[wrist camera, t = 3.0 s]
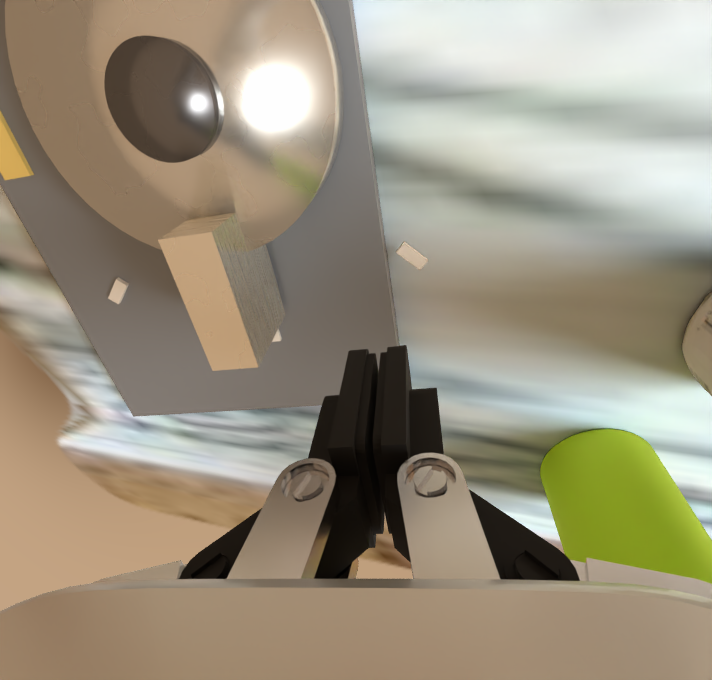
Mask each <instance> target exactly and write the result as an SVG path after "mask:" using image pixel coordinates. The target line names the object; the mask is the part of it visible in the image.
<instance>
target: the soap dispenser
mask: <svg viewBox="0 0 712 680" xmlns="http://www.w3.org/2000/svg"><path fill="white" fill-rule="evenodd" d="M540 476H541V480H542V483H543V487H544V490H545V493H546V496H547V499H548V502H549V505H550V508H551V512H552V515H553V518H554V521H555V524H556V527H557V530H558V533H559V537H560V540H561V543H562V546H563V549H564V552H565V555H566V556H567V557H568V558H569V560H574V561H579V562H584V563H586V558H591V559H596V560H602V561H607V562H612V563H617V564H622V565H627V566H632V567H638V568H643V569H648V570H653V571H658V572H663V573H668V574H673V575H679V576H684V577H689V578H694V579H699V580H702V581H705V582H708V583H711V584H712V540H711V539H710V537H709V535H708V534H707V532H706V531H705V529H704V528H703V526H702V525H701V523H700V521H699V520H698V518H697V517H696V515H695V514H694V512H693V511H692V509H691V507H690V506H689V504H688V503H687V501H686V500H685V498H684V496H683V495H682V493H681V492H680V490H679V489H678V487H677V486H676V484H675V482H674V481H673V479H672V478H671V476H670V475H669V473H668V472H667V470H666V468H665V467H664V465H663V464H662V462H661V461H660V459H659V457H658V456H657V454H656V453H655V451H654V450H653V448H652V447H651V445H650V444H649V443H648V442H647V441H645V440H644V439H643V438H641V437H639V436H637V435H635V434H633V433H630V432H626V431H622V430H615V429H599V430H591V431H586V432H582V433H579V434H576V435H573V436H571V437H569V438H567V439H565V440H563V441H561V442H560V443H558V444H557V445H555V446H554V447H553V448H552V449H551V450H550V451H549V452H548V453H547V454H546V456H545V457H544V459H543V461H542V464H541V468H540Z"/></svg>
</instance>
